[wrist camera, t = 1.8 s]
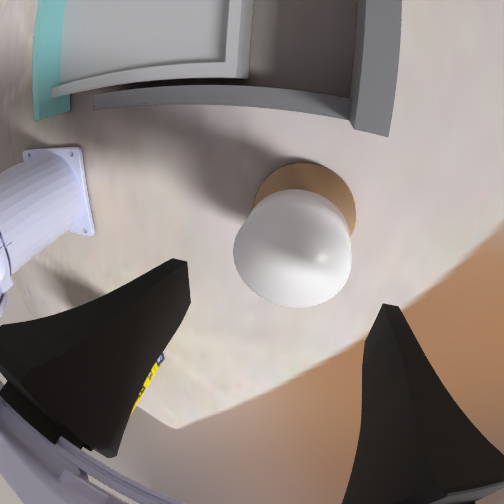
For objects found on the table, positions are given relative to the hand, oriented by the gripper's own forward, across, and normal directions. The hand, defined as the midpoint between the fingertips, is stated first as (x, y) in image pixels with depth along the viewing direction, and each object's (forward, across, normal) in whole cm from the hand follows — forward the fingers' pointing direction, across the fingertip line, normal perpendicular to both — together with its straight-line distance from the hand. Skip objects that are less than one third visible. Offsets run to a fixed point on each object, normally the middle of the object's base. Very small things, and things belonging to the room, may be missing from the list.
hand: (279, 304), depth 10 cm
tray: (+8, +12, -14) cm, 20 cm away
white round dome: (+5, 0, 0) cm, 5 cm away
